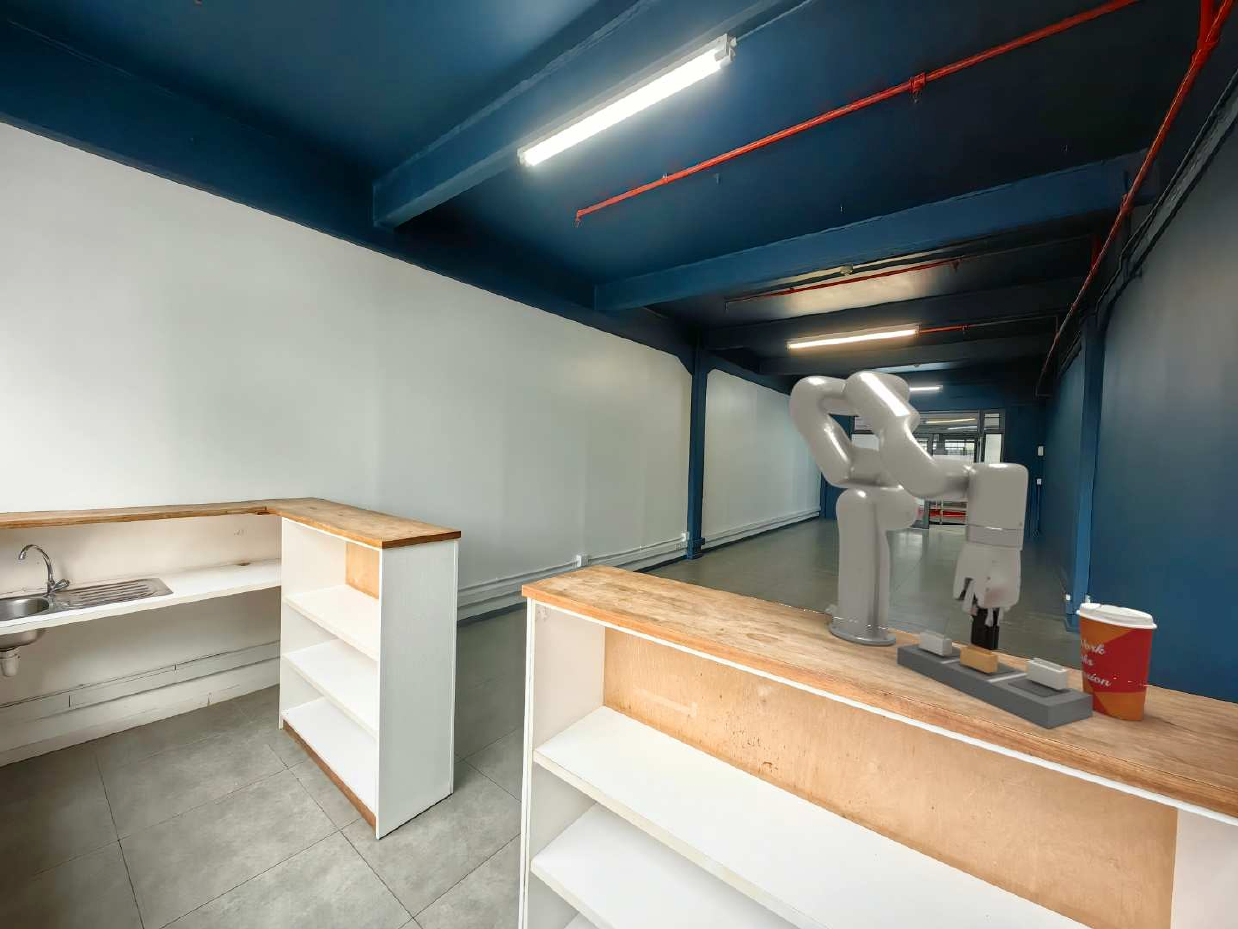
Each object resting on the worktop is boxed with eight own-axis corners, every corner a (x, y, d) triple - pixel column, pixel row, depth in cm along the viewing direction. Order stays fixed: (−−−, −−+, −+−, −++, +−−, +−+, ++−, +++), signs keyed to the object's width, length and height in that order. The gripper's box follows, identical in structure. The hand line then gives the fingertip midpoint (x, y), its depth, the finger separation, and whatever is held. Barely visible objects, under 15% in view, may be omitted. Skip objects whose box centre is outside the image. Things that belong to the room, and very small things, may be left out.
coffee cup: (1070, 691, 75) (1073, 598, 75) (1146, 710, 69) (1149, 610, 70) (1077, 711, 68) (1080, 609, 68) (1162, 733, 63) (1165, 622, 63)
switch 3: (1025, 678, 71) (1026, 657, 71) (1035, 676, 72) (1036, 656, 72) (1058, 690, 67) (1059, 668, 67) (1068, 687, 68) (1069, 666, 68)
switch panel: (897, 663, 83) (897, 646, 83) (937, 657, 87) (938, 640, 87) (1048, 728, 63) (1048, 705, 63) (1092, 716, 67) (1092, 694, 67)
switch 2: (960, 662, 76) (960, 643, 76) (970, 661, 77) (970, 642, 77) (987, 673, 72) (988, 653, 72) (997, 671, 73) (998, 651, 73)
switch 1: (919, 647, 82) (919, 629, 82) (928, 645, 83) (929, 628, 83) (941, 655, 78) (942, 637, 79) (951, 654, 79) (952, 636, 79)
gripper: (995, 532, 82) (987, 634, 83) (939, 533, 77) (930, 642, 77) (1047, 541, 75) (1037, 652, 76) (989, 542, 70) (979, 662, 70)
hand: (983, 646), depth 76 cm, fingers closed
